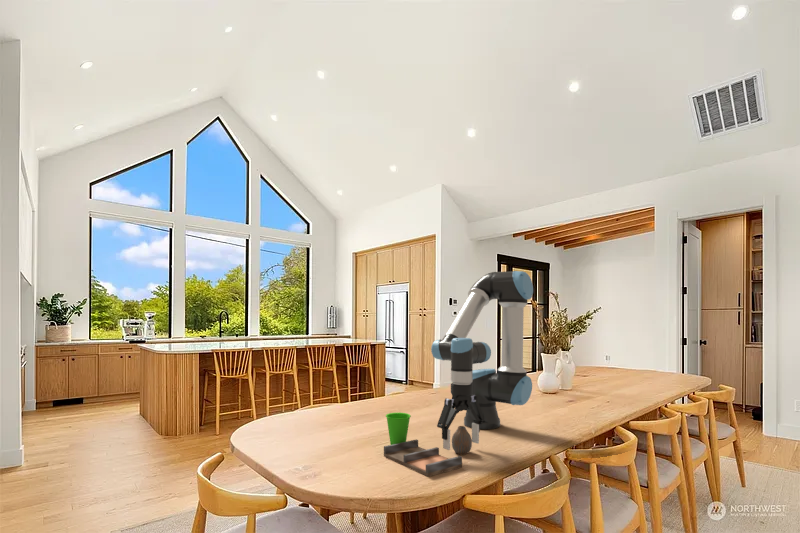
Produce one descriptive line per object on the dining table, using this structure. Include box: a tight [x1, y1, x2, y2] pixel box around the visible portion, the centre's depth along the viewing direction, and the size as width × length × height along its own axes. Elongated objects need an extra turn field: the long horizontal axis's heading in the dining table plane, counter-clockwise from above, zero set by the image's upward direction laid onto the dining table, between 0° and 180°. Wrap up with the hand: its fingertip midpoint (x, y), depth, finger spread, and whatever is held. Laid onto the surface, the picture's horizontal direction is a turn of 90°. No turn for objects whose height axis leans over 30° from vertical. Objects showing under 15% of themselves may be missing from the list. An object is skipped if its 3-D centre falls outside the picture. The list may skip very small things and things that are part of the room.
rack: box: [383, 438, 463, 478], centre depth 154 cm, size 14×23×3 cm, turn 37°
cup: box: [385, 412, 412, 445], centre depth 169 cm, size 9×9×11 cm
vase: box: [451, 425, 473, 456], centre depth 163 cm, size 7×7×9 cm
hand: (461, 445), depth 163 cm, fingers open, 13 cm apart
